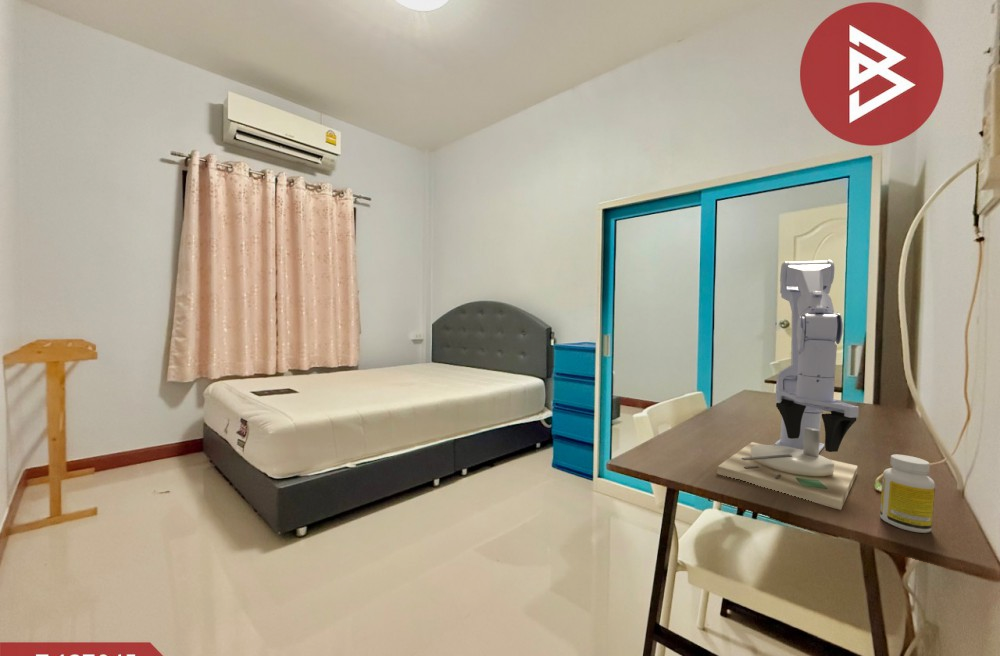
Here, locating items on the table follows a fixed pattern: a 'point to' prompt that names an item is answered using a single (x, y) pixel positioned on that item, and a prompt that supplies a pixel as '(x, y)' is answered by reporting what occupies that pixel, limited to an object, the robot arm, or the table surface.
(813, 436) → the tuning knob
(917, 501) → the supplement bottle
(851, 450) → the table surface
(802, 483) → the dial board
